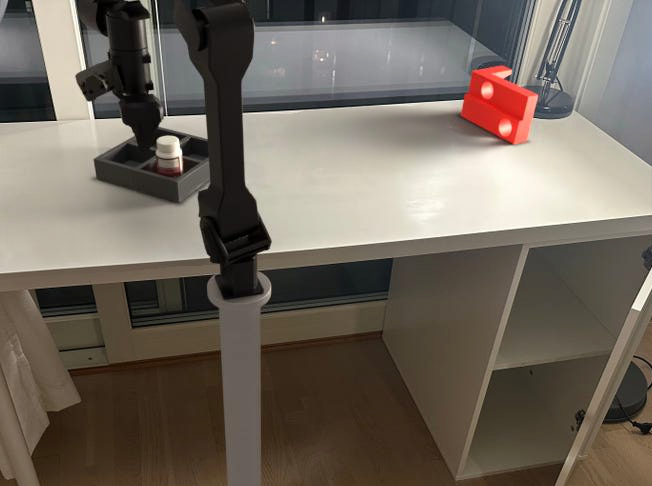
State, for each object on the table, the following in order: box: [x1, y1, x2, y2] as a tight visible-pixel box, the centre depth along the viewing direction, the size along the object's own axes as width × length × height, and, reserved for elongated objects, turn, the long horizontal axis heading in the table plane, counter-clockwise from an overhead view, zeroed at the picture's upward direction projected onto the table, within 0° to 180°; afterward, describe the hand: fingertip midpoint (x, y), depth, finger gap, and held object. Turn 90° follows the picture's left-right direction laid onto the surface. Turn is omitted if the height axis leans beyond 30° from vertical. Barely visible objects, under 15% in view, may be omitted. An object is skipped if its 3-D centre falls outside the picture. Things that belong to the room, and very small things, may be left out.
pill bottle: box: [156, 136, 184, 179], centre depth 131 cm, size 5×5×8 cm
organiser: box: [92, 126, 210, 204], centre depth 137 cm, size 19×19×4 cm
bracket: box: [460, 65, 539, 145], centre depth 160 cm, size 18×10×10 cm
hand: (140, 143), depth 117 cm, fingers open, 9 cm apart
